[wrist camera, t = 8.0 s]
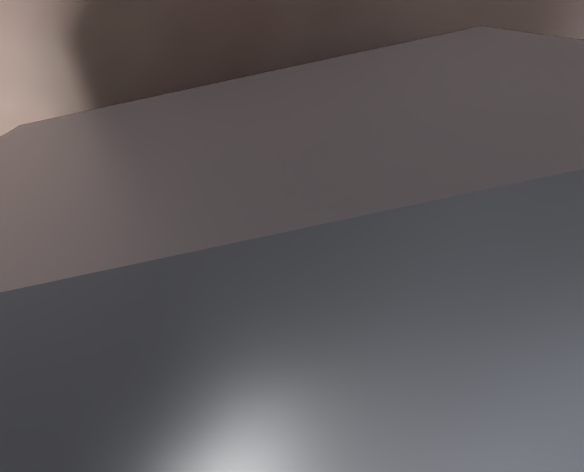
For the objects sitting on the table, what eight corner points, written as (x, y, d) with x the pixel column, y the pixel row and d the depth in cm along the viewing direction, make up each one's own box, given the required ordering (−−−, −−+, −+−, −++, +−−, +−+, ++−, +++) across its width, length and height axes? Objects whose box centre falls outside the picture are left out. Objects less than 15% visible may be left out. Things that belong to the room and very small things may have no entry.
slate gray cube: (480, 26, 12) (954, 89, 4) (500, 395, 16) (755, 792, 8) (20, 125, 12) (-424, 382, 4) (156, 467, 16) (70, 931, 8)
